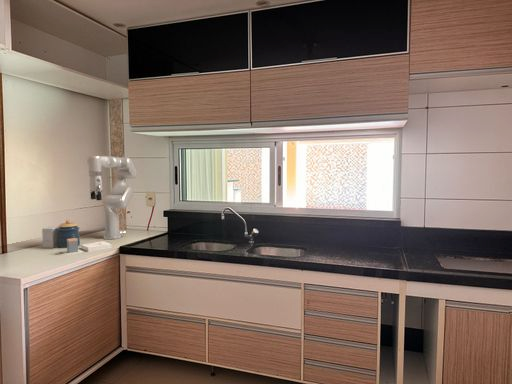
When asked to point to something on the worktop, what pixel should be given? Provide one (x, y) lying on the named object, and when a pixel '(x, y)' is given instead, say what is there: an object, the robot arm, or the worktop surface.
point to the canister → (67, 233)
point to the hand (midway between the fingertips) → (96, 199)
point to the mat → (72, 253)
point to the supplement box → (50, 237)
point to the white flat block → (95, 246)
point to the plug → (72, 245)
